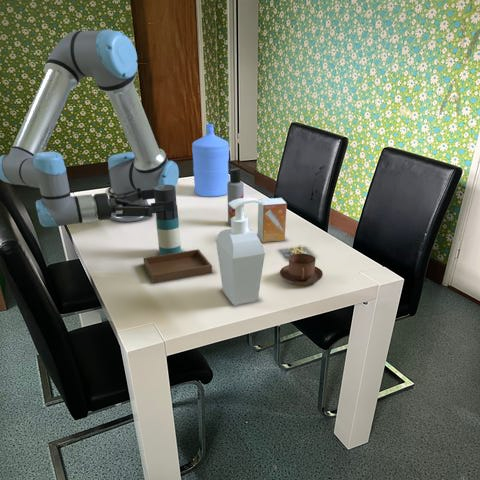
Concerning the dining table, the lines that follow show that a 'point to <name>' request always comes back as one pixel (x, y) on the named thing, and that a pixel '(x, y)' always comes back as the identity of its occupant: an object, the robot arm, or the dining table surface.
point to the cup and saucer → (301, 270)
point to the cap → (163, 195)
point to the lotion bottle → (234, 190)
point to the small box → (272, 219)
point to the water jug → (210, 164)
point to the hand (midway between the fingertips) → (168, 199)
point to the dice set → (294, 251)
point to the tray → (177, 266)
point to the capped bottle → (168, 236)
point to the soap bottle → (240, 257)
